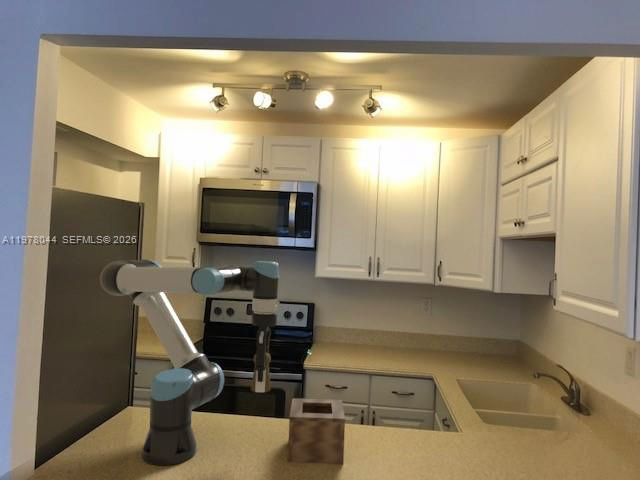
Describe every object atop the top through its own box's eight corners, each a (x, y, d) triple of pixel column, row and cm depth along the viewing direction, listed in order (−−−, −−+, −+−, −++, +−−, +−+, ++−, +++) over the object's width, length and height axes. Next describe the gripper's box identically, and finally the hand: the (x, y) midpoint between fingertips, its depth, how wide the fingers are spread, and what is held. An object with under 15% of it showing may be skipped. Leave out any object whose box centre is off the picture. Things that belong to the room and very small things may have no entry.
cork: (251, 392, 134) (253, 355, 134) (249, 386, 140) (251, 350, 140) (272, 392, 136) (273, 355, 136) (269, 385, 141) (270, 350, 142)
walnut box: (287, 462, 130) (289, 416, 131) (291, 438, 146) (292, 398, 147) (343, 464, 131) (344, 418, 131) (340, 440, 147) (341, 399, 147)
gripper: (273, 317, 128) (270, 399, 128) (279, 308, 147) (276, 379, 147) (247, 316, 128) (243, 398, 128) (256, 307, 147) (253, 378, 147)
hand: (261, 388), depth 138 cm, fingers closed on cork, 6 cm apart
